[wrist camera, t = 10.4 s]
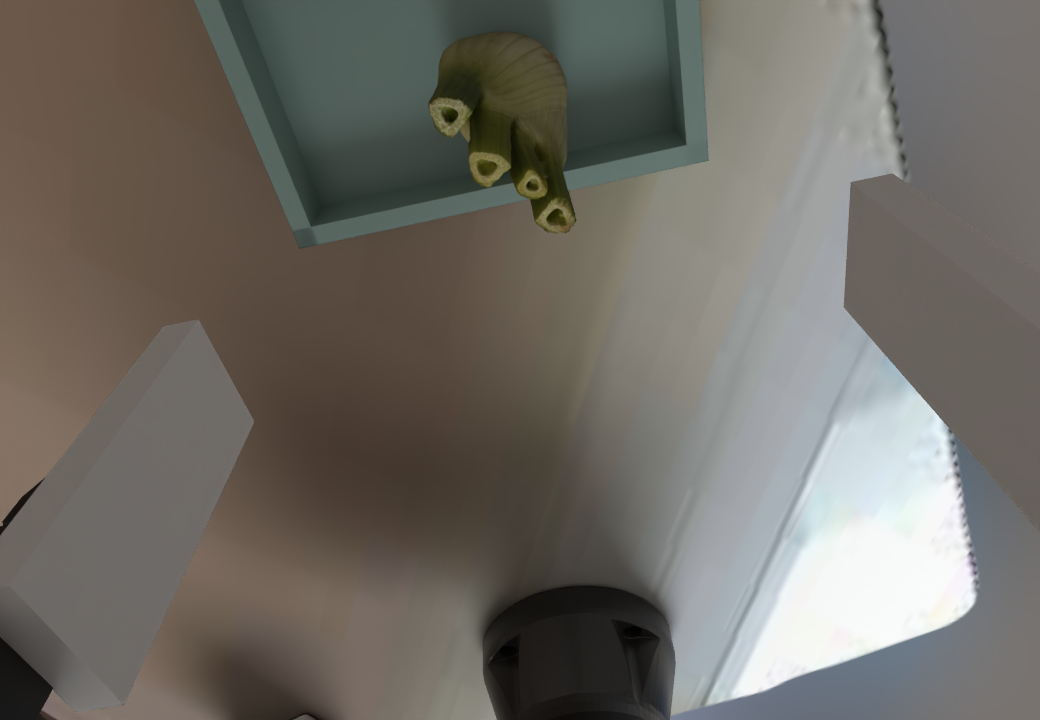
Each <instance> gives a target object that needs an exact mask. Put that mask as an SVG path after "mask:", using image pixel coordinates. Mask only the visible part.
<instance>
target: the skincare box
mask: <svg viewBox="0 0 1040 720" xmlns="http://www.w3.org/2000/svg"><path fill="white" fill-rule="evenodd" d="M293 720H316V719H314V718H312V717H310V716H309V715H302V716H300V717H298V718H296V719H293Z"/></svg>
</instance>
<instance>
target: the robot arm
mask: <svg viewBox="0 0 1040 720" xmlns="http://www.w3.org/2000/svg"><path fill="white" fill-rule="evenodd" d="M844 308H845V309H846V310H847V311H848V313H849V314H850V315H851V316H852V317H853V318H854V319H855V321H856V322H857V323H858V324H859V325H860V326H861V327H862V329H863V330H864V331H865V332H866V333H867V334H868V336H869V337H870V338H871V339H872V340H873V341H874V342H875V344H876V345H877V346H878V347H879V348H880V349H881V350H882V352H883V353H884V354H885V355H886V356H887V357H888V358H889V360H890V361H891V362H892V363H893V364H894V365H895V367H896V368H897V369H898V370H899V371H900V372H901V373H902V375H903V376H904V377H905V378H906V379H907V380H908V381H909V383H910V384H911V385H912V386H913V387H914V388H915V389H916V391H917V392H918V393H919V394H920V395H921V396H922V398H923V399H924V400H925V401H926V402H927V403H928V404H929V406H930V407H931V408H932V409H933V410H934V411H935V412H936V414H937V415H938V416H939V417H940V418H941V419H942V420H943V422H944V423H945V424H946V425H947V426H948V427H949V429H950V430H951V431H952V432H953V433H954V434H955V435H956V437H957V438H958V439H959V440H960V441H961V442H962V443H963V445H964V446H965V447H966V448H967V449H968V450H969V451H970V453H971V454H972V455H973V456H974V457H975V458H976V459H977V461H978V462H979V463H980V464H981V465H982V466H983V467H984V469H985V470H986V471H987V472H988V473H989V474H990V475H991V477H992V478H993V479H994V480H995V481H996V482H997V484H998V485H999V486H1000V487H1001V488H1002V489H1003V490H1004V492H1005V493H1006V494H1007V495H1008V496H1009V497H1010V499H1011V500H1012V501H1013V502H1014V503H1015V504H1016V505H1017V507H1018V508H1019V509H1020V510H1021V511H1022V512H1023V513H1024V515H1025V516H1026V517H1027V518H1028V519H1029V520H1030V521H1031V523H1032V524H1033V525H1034V526H1035V527H1036V528H1037V530H1038V531H1039V532H1040V273H1039V272H1038V271H1037V270H1035V269H1034V268H1032V267H1031V266H1029V265H1027V264H1026V263H1025V262H1023V261H1021V260H1020V259H1018V258H1017V257H1016V256H1014V255H1013V254H1011V253H1010V252H1008V251H1007V250H1005V249H1004V248H1002V247H1001V246H999V245H998V244H996V243H995V242H993V241H992V240H990V239H989V238H987V237H986V236H985V235H983V234H982V233H980V232H979V231H977V230H976V229H974V228H972V227H971V226H970V225H968V224H967V223H965V222H964V221H962V220H961V219H959V218H958V217H956V216H955V215H953V214H952V213H950V212H949V211H947V210H946V209H944V208H943V207H941V206H940V205H939V204H937V203H935V202H934V201H933V200H931V199H930V198H928V197H926V196H925V195H923V194H922V193H921V192H919V191H918V190H916V189H915V188H913V187H912V186H910V185H909V184H907V183H906V182H904V181H903V180H901V179H900V178H898V177H897V176H895V175H894V174H888V175H883V176H878V177H873V178H869V179H864V180H859V181H854V182H851V188H850V206H849V224H848V242H847V260H846V278H845V295H844ZM253 424H254V420H253V418H252V417H251V415H250V413H249V411H248V409H247V407H246V406H245V404H244V402H243V400H242V398H241V396H240V395H239V393H238V391H237V389H236V387H235V385H234V384H233V382H232V380H231V378H230V376H229V374H228V373H227V371H226V369H225V367H224V365H223V363H222V362H221V360H220V358H219V356H218V354H217V353H216V351H215V349H214V347H213V345H212V343H211V342H210V340H209V338H208V336H207V334H206V332H205V331H204V329H203V327H202V325H201V323H200V321H199V320H198V319H196V320H192V321H187V322H182V323H177V324H173V325H168V326H163V328H162V329H161V330H160V331H159V333H158V334H157V335H156V337H155V338H154V339H153V340H152V342H151V343H150V344H149V346H148V347H147V348H146V349H145V351H144V352H143V353H142V355H141V356H140V357H139V358H138V360H137V361H136V362H135V363H134V365H133V366H132V367H131V369H130V370H129V371H128V372H127V374H126V375H125V376H124V378H123V379H122V380H121V381H120V383H119V384H118V385H117V387H116V388H115V389H114V390H113V392H112V393H111V394H110V396H109V397H108V398H107V399H106V401H105V402H104V403H103V405H102V406H101V407H100V408H99V410H98V411H97V412H96V413H95V415H94V416H93V417H92V419H91V420H90V421H89V422H88V424H87V425H86V426H85V428H84V429H83V430H82V431H81V433H80V434H79V435H78V437H77V438H76V439H75V440H74V442H73V443H72V444H71V446H70V447H69V448H68V449H67V451H66V452H65V453H64V454H63V456H62V457H61V458H60V460H59V461H58V462H57V463H56V465H55V466H54V467H53V469H52V470H51V471H50V472H49V474H48V475H47V476H46V477H45V478H44V479H43V480H42V481H41V482H39V483H38V484H37V485H36V486H35V487H33V488H32V489H31V490H30V491H29V492H27V493H26V494H25V495H24V496H23V497H22V498H21V499H20V500H19V501H18V503H17V504H16V505H15V506H14V508H13V509H12V510H11V511H10V513H9V514H8V515H7V516H6V518H5V519H4V520H3V521H2V523H3V526H0V720H47V719H46V718H45V717H43V716H42V715H41V714H40V711H41V709H42V708H43V706H44V704H45V702H46V700H47V699H48V697H49V695H50V693H51V691H52V690H53V691H54V692H55V693H56V694H57V695H58V696H59V697H60V698H61V699H62V700H63V701H64V702H65V703H66V704H67V705H69V706H70V707H71V708H72V709H73V710H74V711H75V712H82V711H88V710H95V709H101V708H107V707H114V706H120V705H124V704H125V701H126V699H127V697H128V695H129V693H130V691H131V688H132V686H133V684H134V682H135V680H136V678H137V675H138V673H139V671H140V669H141V667H142V665H143V662H144V660H145V658H146V656H147V654H148V652H149V649H150V647H151V645H152V643H153V641H154V639H155V636H156V634H157V632H158V630H159V628H160V626H161V623H162V621H163V619H164V617H165V615H166V612H167V610H168V608H169V606H170V604H171V602H172V599H173V597H174V595H175V593H176V591H177V589H178V586H179V584H180V582H181V580H182V578H183V576H184V573H185V571H186V569H187V567H188V565H189V563H190V560H191V558H192V556H193V554H194V552H195V550H196V547H197V545H198V543H199V541H200V539H201V537H202V534H203V532H204V530H205V528H206V526H207V523H208V521H209V519H210V517H211V515H212V513H213V510H214V508H215V506H216V504H217V502H218V500H219V497H220V495H221V493H222V491H223V489H224V487H225V484H226V482H227V480H228V478H229V476H230V474H231V471H232V469H233V467H234V465H235V463H236V461H237V458H238V456H239V454H240V452H241V450H242V448H243V445H244V443H245V441H246V439H247V437H248V435H249V432H250V430H251V428H252V426H253ZM675 664H676V662H675V651H674V647H673V643H672V639H671V635H670V630H669V627H668V624H667V622H666V620H665V619H664V617H663V616H662V615H661V613H660V612H659V611H658V610H657V609H656V608H654V607H653V606H652V605H650V604H649V603H648V602H646V601H644V600H642V599H640V598H638V597H636V596H634V595H631V594H628V593H625V592H622V591H618V590H613V589H608V588H600V587H571V588H563V589H557V590H552V591H548V592H544V593H541V594H537V595H535V596H532V597H529V598H527V599H525V600H523V601H521V602H519V603H517V604H515V605H513V606H512V607H510V608H509V609H507V610H506V611H505V612H503V613H502V614H501V615H500V616H499V617H498V618H497V619H496V620H495V621H494V622H493V623H492V625H491V626H490V628H489V629H488V631H487V633H486V636H485V639H484V644H483V676H484V681H485V685H486V688H487V691H488V694H489V697H490V700H491V703H492V706H493V709H494V712H495V715H496V718H497V720H670V714H671V704H672V694H673V685H674V675H675Z"/></svg>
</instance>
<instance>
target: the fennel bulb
mask: <svg viewBox="0 0 1040 720" xmlns="http://www.w3.org/2000/svg"><path fill="white" fill-rule="evenodd" d="M438 68H439V69H438V73H439V74H438V85H437V87H436V89H435V91H434V94H433V95H432V97H431V99H430V100H429V103H428V107H429V112H430V115H431V116H432V118H433V122H434V127H435V128H436V129H437V130H438V131H439V132H440V133H441V134H442V135H444V136H445V137H449V138H453V137H454V136H455V135H456V134H457V132H458V131H459V130H460V132H461V133H462V135H463V136H464V138H465V139H466V140H467V141H468V142H469V146H468V148H469V154H468V161H469V167H470V170H471V174H472V178H473V180H474V182H476V183H478V184H479V185H481V186H483V187H487V188H488V187H491V186H492V184H493V183H494V182H495V181H496V180H498V179H499V178H500V177H501V176H502V174H503V173H505V172H507V171H508V170H509V172H510V176H511V178H512V180H513V182H514V186H515V188H516V191H517V193H518V194H519V195H520V196H522V197H525V198H528V199H530V201H531V205H532V209H533V216H534V219H535V222H536V224H537V225H539V226H541V227H542V228H543V229H544V230H545V231H547V232H552V233H559V232H561V233H566V232H569V231H570V228H571V227H572V226H573V225H574V223H575V222H576V218H575V212H574V209H573V205H572V202H571V198H570V195H569V192H568V189H567V185H566V181H565V178H564V173H563V167H564V164H565V161H566V158H567V113H566V110H567V96H568V87H567V81H566V77H565V75H564V72H563V70H562V68H561V66H560V63H559V62H558V60H557V58H556V57H555V55H554V54H553V53H552V52H551V51H549V50H548V49H547V48H546V47H545V46H544V45H543V44H541V43H540V42H539V41H537V40H535V39H533V38H531V37H528V36H526V35H524V34H521V33H517V32H489V33H483V34H479V35H475V36H471V37H466V38H462V39H460V40H458V41H456V42H454V43H452V44H451V45H449V46H448V47H447V48H446V50H444V51H443V53H442V56H441V58H440V62H439V66H438Z"/></svg>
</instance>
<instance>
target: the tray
mask: <svg viewBox="0 0 1040 720" xmlns="http://www.w3.org/2000/svg"><path fill="white" fill-rule="evenodd" d="M194 2H195V4H196V6H197V9H198V11H199V13H200V16H201V18H202V20H203V23H204V25H205V27H206V30H207V32H208V34H209V37H210V39H211V41H212V44H213V46H214V48H215V51H216V53H217V55H218V58H219V60H220V62H221V65H222V67H223V70H224V72H225V74H226V77H227V79H228V81H229V84H230V86H231V88H232V91H233V93H234V95H235V98H236V100H237V102H238V105H239V107H240V109H241V112H242V114H243V116H244V119H245V121H246V123H247V126H248V128H249V130H250V133H251V135H252V138H253V140H254V142H255V145H256V147H257V149H258V152H259V154H260V156H261V159H262V161H263V163H264V166H265V168H266V170H267V173H268V175H269V177H270V180H271V182H272V184H273V187H274V189H275V191H276V194H277V196H278V198H279V201H280V203H281V206H282V208H283V210H284V213H285V215H286V217H287V220H288V222H289V224H290V227H291V229H292V231H293V234H294V236H295V238H296V241H297V243H298V245H299V248H305V247H310V246H314V245H319V244H324V243H328V242H333V241H338V240H342V239H347V238H352V237H356V236H361V235H366V234H370V233H375V232H379V231H384V230H389V229H393V228H398V227H403V226H407V225H412V224H417V223H421V222H426V221H431V220H435V219H440V218H444V217H449V216H454V215H458V214H463V213H468V212H472V211H477V210H482V209H486V208H491V207H496V206H500V205H505V204H510V203H514V202H519V201H523V200H528V198H525V197H522V196H520V195H519V194H518V193H517V191H516V188H515V186H514V182H513V180H512V178H511V176H510V172H509V170H508V171H507V172H505V173H503V174H502V176H501V177H500V178H499V179H498V180H496V181H495V182H494V183H493V184H492V186H491V187H488V188H487V187H483V186H481V185H479V184H478V183H476V182H474V180H473V178H472V174H471V170H470V167H469V161H468V154H469V148H468V146H469V142H468V141H467V140H466V139H465V138H464V136H463V135H462V133H461V132H460V130H459V131H458V132H457V134H456V135H455V136H454V137H453V138H449V137H445V136H444V135H442V134H441V133H440V132H439V131H438V130H437V129H436V128H435V127H434V122H433V118H432V116H431V115H430V112H429V107H428V103H429V100H430V99H431V97H432V95H433V94H434V91H435V89H436V87H437V85H438V74H439V73H438V69H439V68H438V66H439V62H440V58H441V56H442V53H443V51H444V50H446V48H447V47H448V46H449V45H451V44H452V43H454V42H456V41H458V40H460V39H462V38H466V37H471V36H475V35H479V34H483V33H489V32H517V33H521V34H524V35H526V36H528V37H531V38H533V39H535V40H537V41H539V42H540V43H541V44H543V45H544V46H545V47H546V48H547V49H548V50H549V51H551V52H552V53H553V54H554V55H555V57H556V58H557V60H558V62H559V63H560V66H561V68H562V70H563V72H564V75H565V77H566V81H567V87H568V96H567V110H566V113H567V158H566V161H565V164H564V167H563V173H564V178H565V181H566V185H567V189H568V191H570V190H575V189H579V188H584V187H588V186H593V185H598V184H602V183H607V182H612V181H616V180H621V179H626V178H630V177H635V176H640V175H644V174H649V173H653V172H658V171H663V170H667V169H672V168H677V167H681V166H686V165H691V164H695V163H700V162H705V161H709V159H708V142H707V125H706V108H705V91H704V75H703V58H702V41H701V24H700V7H699V0H194Z"/></svg>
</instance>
